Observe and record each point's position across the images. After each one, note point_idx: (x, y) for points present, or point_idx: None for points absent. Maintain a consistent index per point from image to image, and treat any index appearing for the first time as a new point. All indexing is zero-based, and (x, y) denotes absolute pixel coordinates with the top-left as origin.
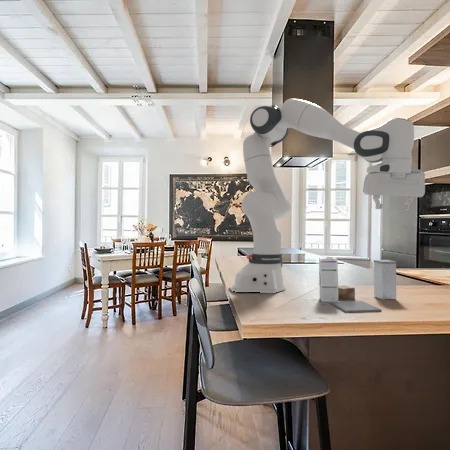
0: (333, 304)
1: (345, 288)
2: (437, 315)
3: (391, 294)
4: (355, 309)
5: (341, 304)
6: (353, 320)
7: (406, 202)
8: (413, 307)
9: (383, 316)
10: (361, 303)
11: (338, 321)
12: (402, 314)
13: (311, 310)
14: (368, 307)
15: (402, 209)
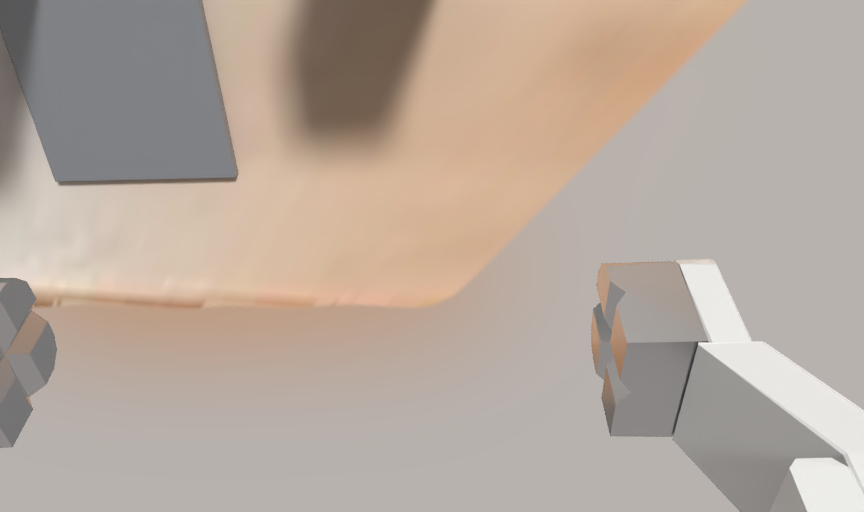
0: (8, 42)
1: None
2: (464, 247)
3: None
4: (106, 166)
5: (50, 62)
6: (73, 278)
7: (748, 421)
8: (448, 110)
9: (216, 241)
10: (171, 49)
11: None
12: (316, 221)
13: None
14: (183, 137)
15: (600, 282)
